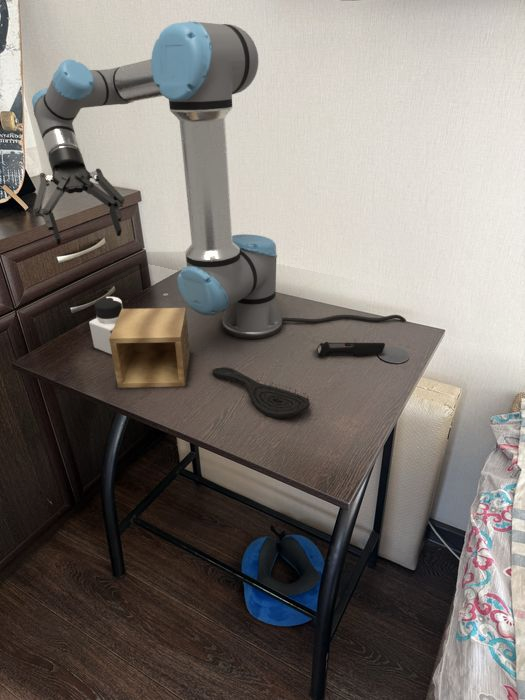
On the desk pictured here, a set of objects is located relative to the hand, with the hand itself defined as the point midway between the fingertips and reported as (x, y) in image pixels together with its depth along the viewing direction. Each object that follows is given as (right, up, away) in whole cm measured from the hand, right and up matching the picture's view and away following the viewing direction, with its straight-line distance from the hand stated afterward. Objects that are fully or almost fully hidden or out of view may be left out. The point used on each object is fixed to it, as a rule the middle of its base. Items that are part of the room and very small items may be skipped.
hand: (89, 237), depth 114 cm
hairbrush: (+38, -35, -11) cm, 53 cm away
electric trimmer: (+60, -27, +2) cm, 65 cm away
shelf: (+16, -30, -4) cm, 34 cm away
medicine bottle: (+4, -25, +5) cm, 26 cm away
